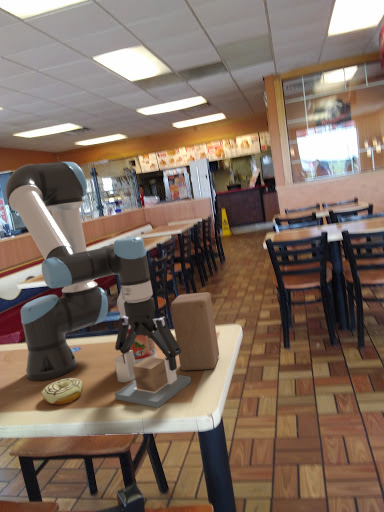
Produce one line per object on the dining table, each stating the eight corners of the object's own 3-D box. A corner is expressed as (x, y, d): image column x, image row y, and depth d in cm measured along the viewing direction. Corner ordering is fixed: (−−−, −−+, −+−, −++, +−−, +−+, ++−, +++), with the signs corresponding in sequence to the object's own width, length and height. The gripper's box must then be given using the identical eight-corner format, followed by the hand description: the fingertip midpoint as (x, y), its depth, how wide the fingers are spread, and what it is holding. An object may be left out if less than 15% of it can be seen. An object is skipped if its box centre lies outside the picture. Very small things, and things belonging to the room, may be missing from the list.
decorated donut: (49, 412, 106) (46, 398, 105) (39, 398, 115) (37, 385, 114) (89, 396, 111) (86, 383, 111) (77, 384, 120) (74, 372, 120)
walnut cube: (136, 388, 108) (132, 366, 107) (151, 378, 112) (148, 357, 112) (154, 391, 104) (150, 369, 103) (169, 381, 109) (165, 359, 108)
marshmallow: (113, 381, 119) (109, 360, 118) (127, 372, 123) (123, 353, 122) (128, 383, 115) (124, 362, 115) (141, 374, 120) (138, 355, 119)
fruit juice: (163, 358, 130) (148, 270, 126) (137, 369, 124) (121, 277, 120) (146, 353, 137) (132, 269, 133) (121, 363, 131) (105, 276, 127)
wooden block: (215, 370, 116) (204, 299, 113) (180, 372, 118) (169, 303, 115) (220, 355, 125) (210, 290, 123) (187, 358, 127) (177, 294, 125)
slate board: (115, 399, 107) (114, 393, 107) (150, 375, 118) (149, 370, 118) (158, 407, 99) (156, 401, 99) (191, 382, 110) (190, 376, 110)
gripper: (93, 302, 109) (107, 378, 112) (168, 304, 95) (182, 391, 98) (113, 294, 116) (126, 367, 118) (187, 295, 101) (199, 378, 104)
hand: (151, 378), depth 108 cm, fingers open, 13 cm apart
